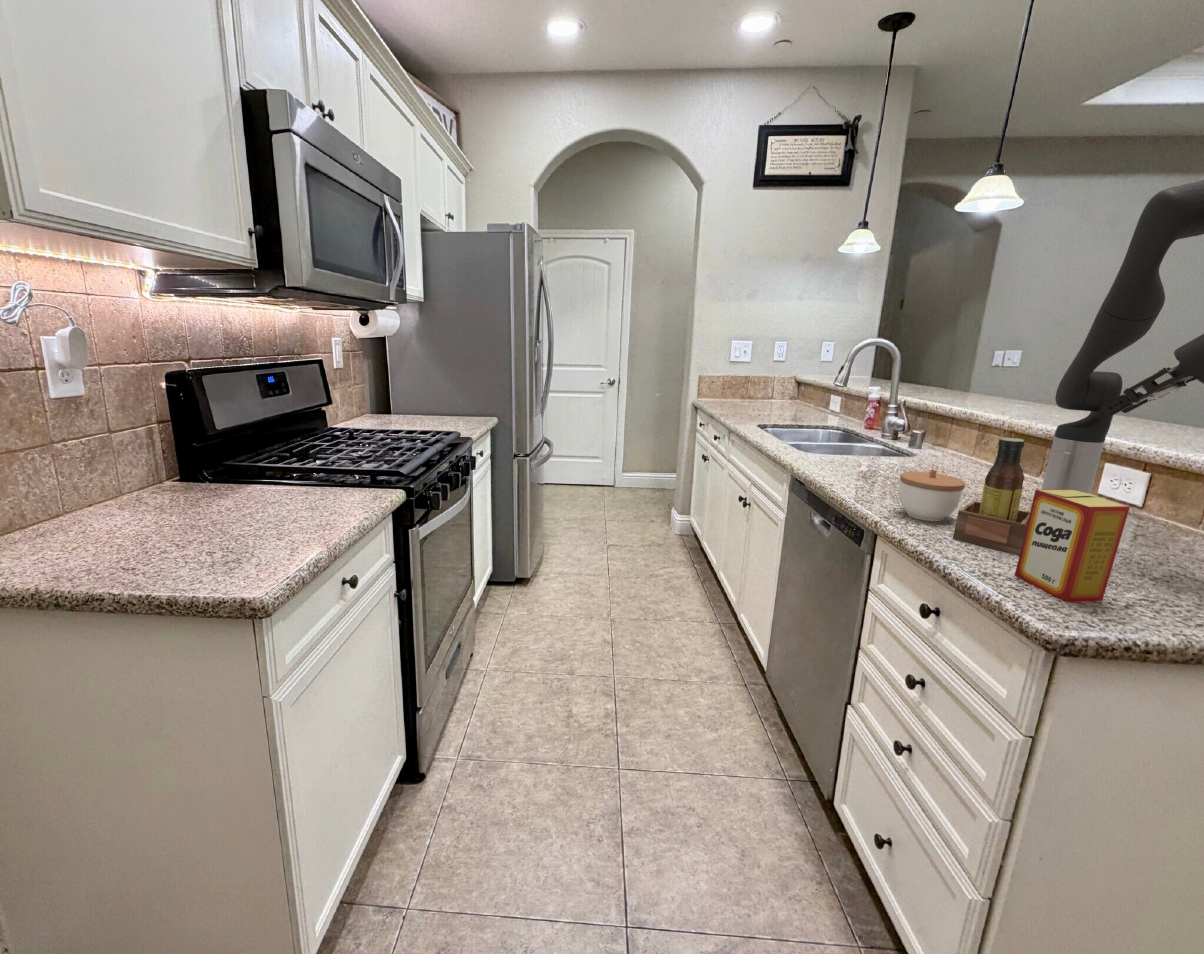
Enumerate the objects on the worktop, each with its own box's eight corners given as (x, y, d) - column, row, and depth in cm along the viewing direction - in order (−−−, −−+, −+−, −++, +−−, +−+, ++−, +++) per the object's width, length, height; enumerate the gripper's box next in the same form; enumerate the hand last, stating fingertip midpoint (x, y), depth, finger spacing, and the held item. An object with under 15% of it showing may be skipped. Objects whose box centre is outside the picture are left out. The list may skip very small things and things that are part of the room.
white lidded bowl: (939, 529, 116) (948, 479, 113) (883, 512, 127) (890, 466, 124) (968, 520, 123) (978, 473, 120) (912, 505, 133) (920, 461, 130)
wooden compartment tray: (967, 526, 118) (972, 500, 117) (1092, 556, 104) (1101, 526, 102) (952, 538, 111) (958, 510, 109) (1085, 572, 96) (1093, 540, 95)
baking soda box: (1102, 601, 86) (1130, 504, 81) (1065, 602, 85) (1091, 504, 81) (1048, 575, 95) (1071, 487, 91) (1014, 575, 94) (1036, 487, 90)
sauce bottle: (1000, 530, 113) (1022, 436, 108) (1019, 541, 107) (1043, 442, 102) (967, 528, 114) (987, 435, 109) (984, 539, 108) (1006, 441, 103)
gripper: (1219, 331, 90) (1110, 392, 102) (1196, 330, 83) (1082, 396, 95) (1256, 366, 87) (1140, 424, 100) (1236, 368, 80) (1113, 431, 92)
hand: (1112, 410), depth 97 cm, fingers open, 8 cm apart
